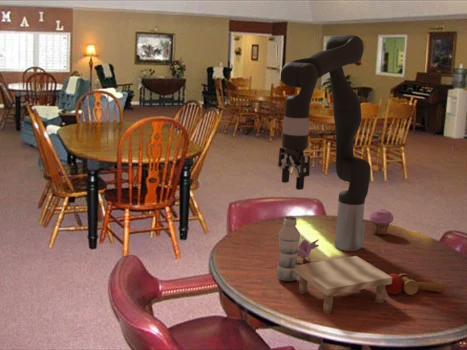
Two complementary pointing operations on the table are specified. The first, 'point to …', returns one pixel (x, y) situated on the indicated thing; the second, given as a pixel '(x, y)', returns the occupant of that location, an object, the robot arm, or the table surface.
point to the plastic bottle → (288, 250)
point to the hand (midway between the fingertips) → (292, 185)
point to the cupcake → (381, 220)
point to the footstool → (342, 278)
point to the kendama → (410, 285)
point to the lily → (306, 249)
